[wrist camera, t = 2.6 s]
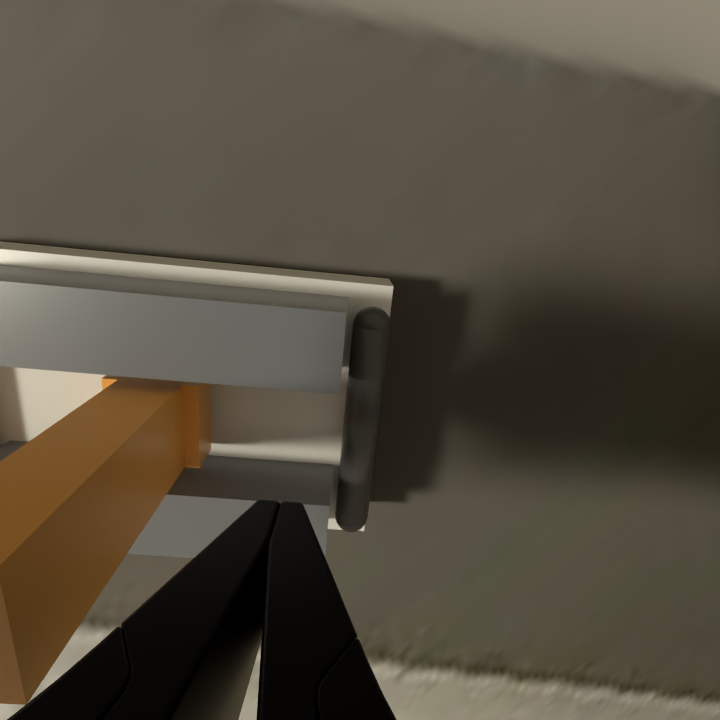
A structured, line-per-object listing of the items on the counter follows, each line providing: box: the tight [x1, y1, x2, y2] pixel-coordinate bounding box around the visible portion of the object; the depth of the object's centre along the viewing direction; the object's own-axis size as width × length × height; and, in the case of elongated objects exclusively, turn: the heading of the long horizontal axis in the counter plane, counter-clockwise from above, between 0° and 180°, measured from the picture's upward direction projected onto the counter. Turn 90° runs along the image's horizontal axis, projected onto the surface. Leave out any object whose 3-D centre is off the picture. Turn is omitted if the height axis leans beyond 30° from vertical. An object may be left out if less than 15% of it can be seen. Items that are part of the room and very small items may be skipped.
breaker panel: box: [0, 241, 394, 558], centre depth 12 cm, size 12×8×4 cm, turn 84°
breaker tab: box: [0, 375, 211, 704], centre depth 9 cm, size 2×2×7 cm
